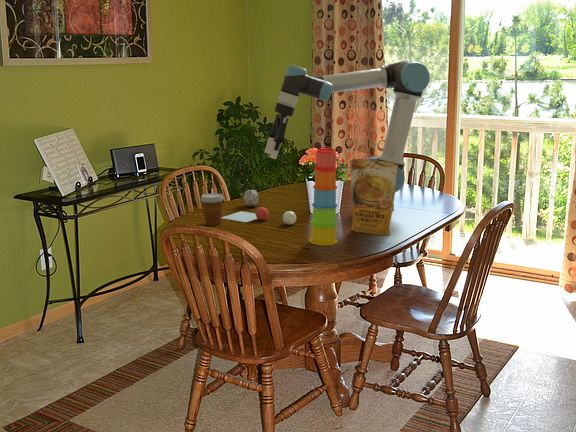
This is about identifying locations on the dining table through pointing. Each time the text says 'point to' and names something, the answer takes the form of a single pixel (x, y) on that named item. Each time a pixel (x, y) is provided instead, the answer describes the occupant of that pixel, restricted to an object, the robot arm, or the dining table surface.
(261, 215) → the red ball
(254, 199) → the game die
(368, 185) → the pancake mix bag
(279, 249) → the dining table surface
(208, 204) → the disposable coffee cup
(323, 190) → the stacking cups
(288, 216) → the cue ball
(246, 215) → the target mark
